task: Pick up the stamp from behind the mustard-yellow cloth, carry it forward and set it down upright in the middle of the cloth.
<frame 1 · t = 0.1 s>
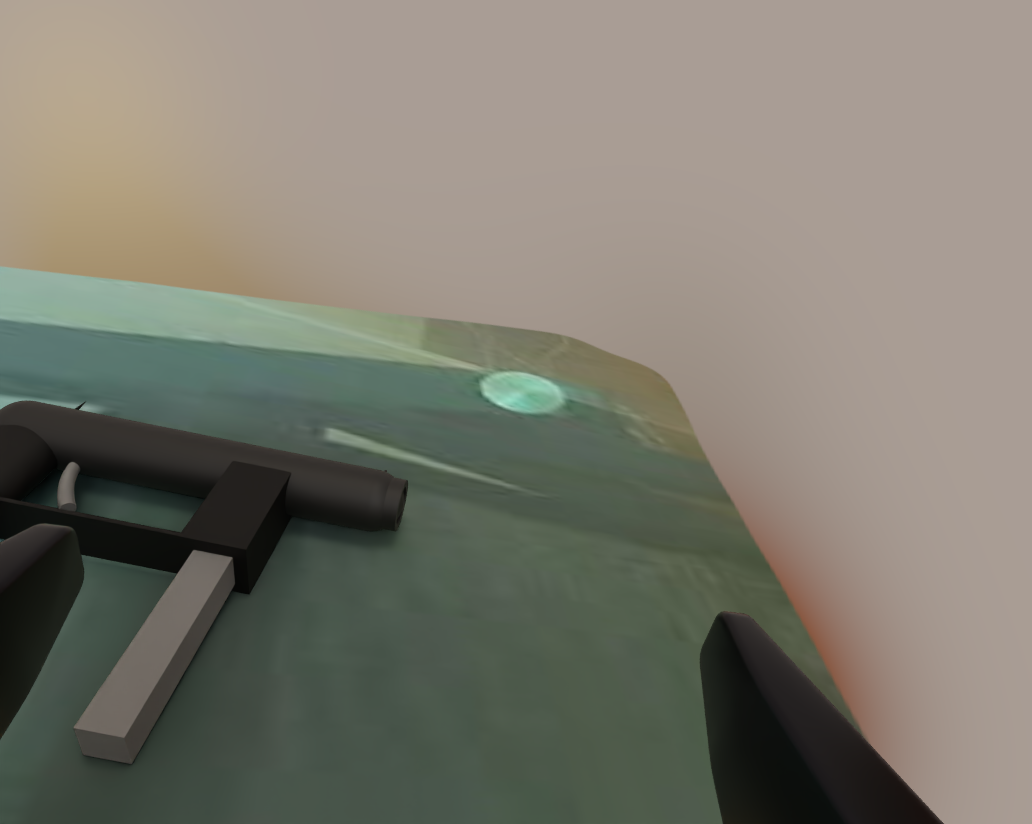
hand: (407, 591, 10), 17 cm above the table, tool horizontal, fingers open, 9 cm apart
submachine gun: (142, 574, 30), on the table
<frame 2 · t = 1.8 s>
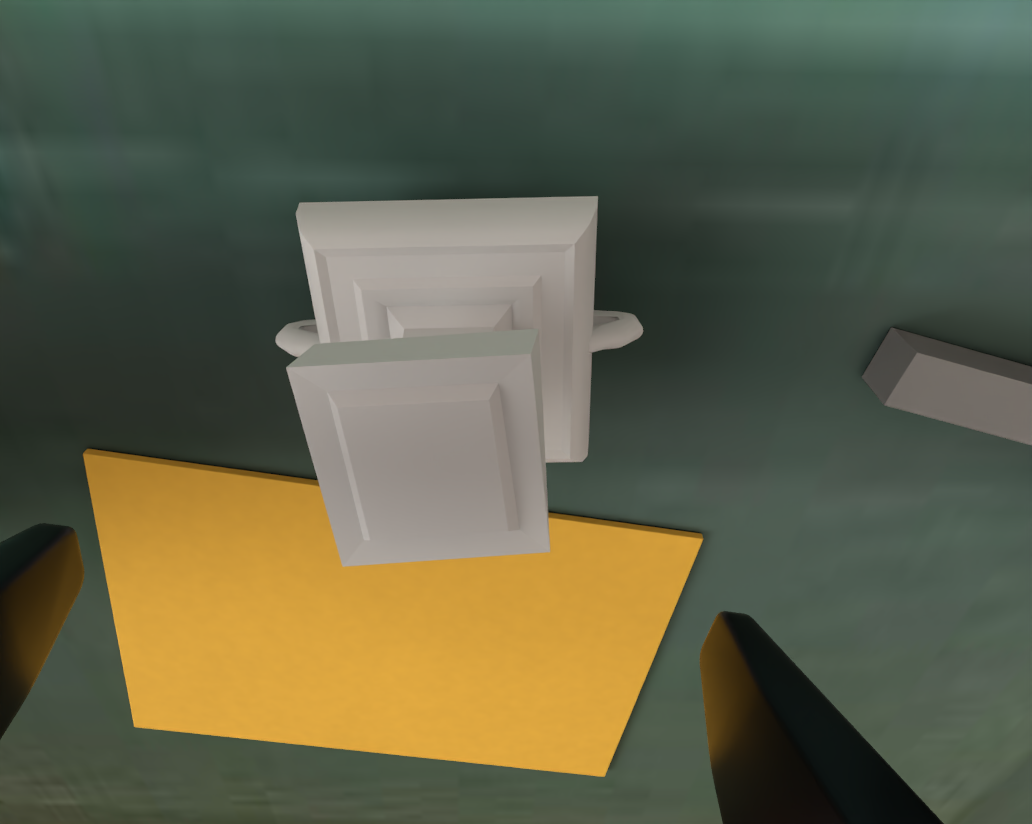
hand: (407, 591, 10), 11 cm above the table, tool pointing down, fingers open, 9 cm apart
cloth: (389, 636, 26), on the table
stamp: (465, 295, 19), on the table
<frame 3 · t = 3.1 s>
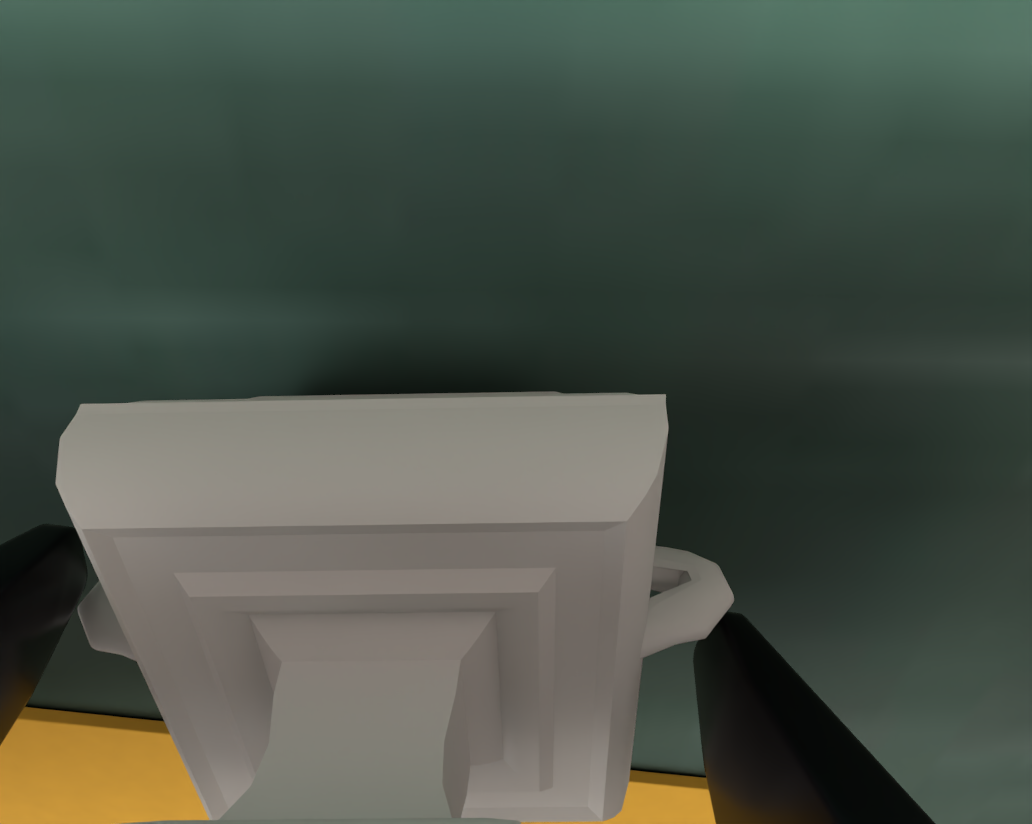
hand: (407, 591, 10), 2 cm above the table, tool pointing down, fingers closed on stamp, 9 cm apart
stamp: (425, 488, 12), on the table, touching gripper
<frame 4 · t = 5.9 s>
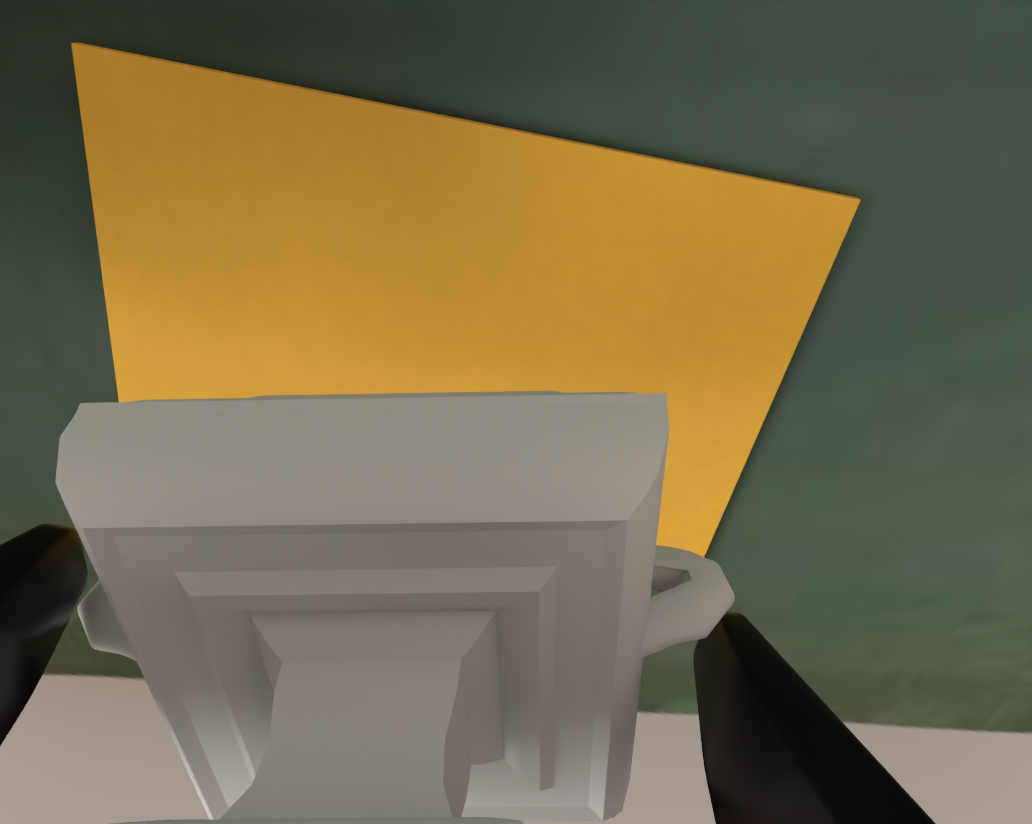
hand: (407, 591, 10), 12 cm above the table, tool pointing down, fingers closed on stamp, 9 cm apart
cloth: (450, 364, 21), on the table
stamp: (425, 487, 12), point 9 cm above the table, touching gripper
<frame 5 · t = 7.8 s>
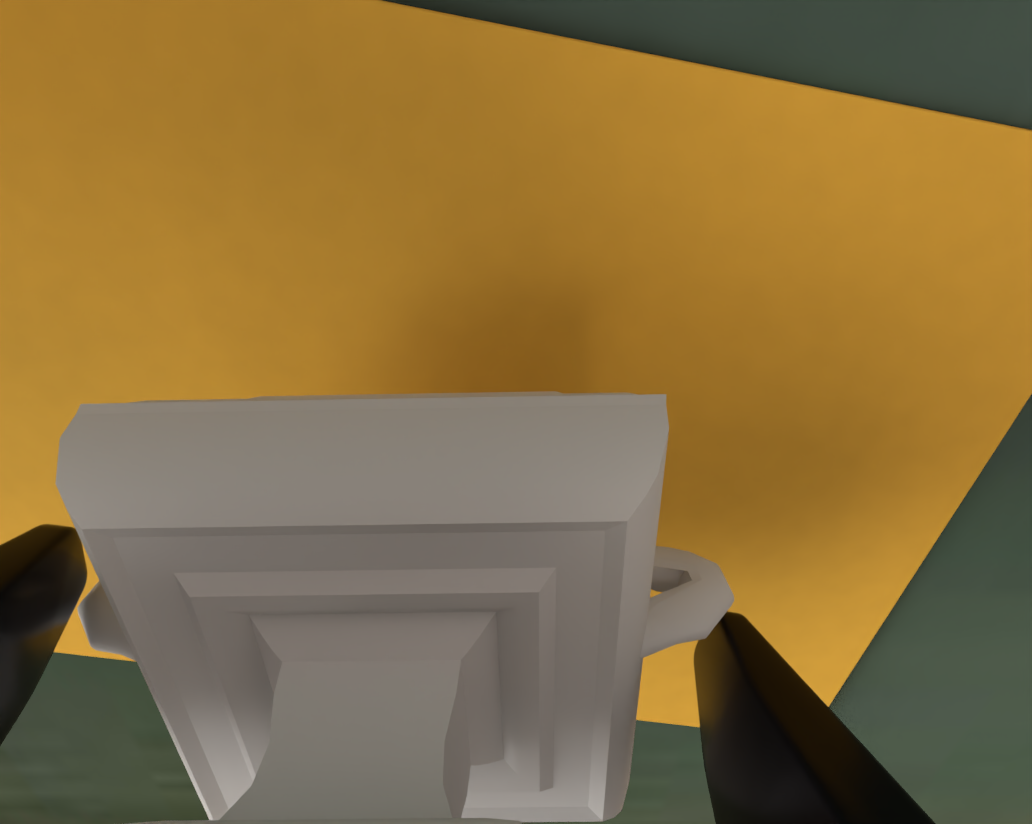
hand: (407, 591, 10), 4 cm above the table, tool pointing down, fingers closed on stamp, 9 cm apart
cloth: (441, 444, 13), on the table
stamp: (425, 488, 12), point 1 cm above the table, touching gripper
when the fingers open (2 cm above the table, at t = 8.9 s): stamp stays where it is, resting on cloth.
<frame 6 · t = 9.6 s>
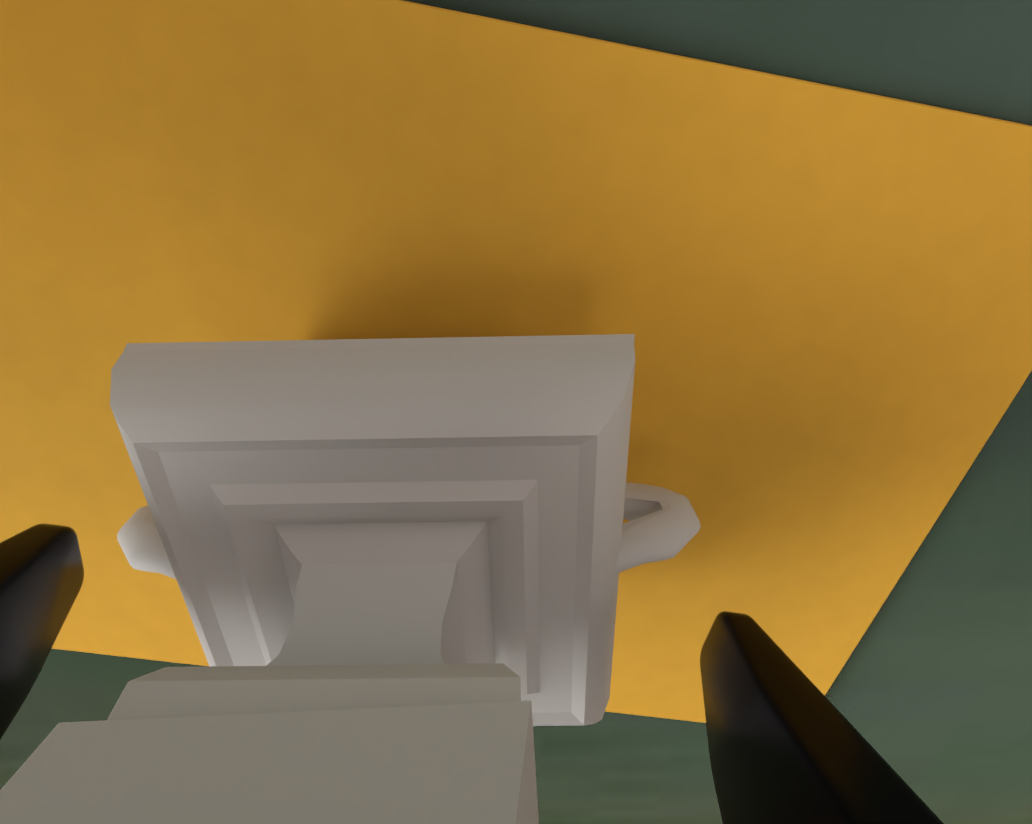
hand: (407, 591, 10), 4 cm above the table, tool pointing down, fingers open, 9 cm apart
cloth: (433, 439, 13), on the table
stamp: (426, 438, 13), resting on cloth
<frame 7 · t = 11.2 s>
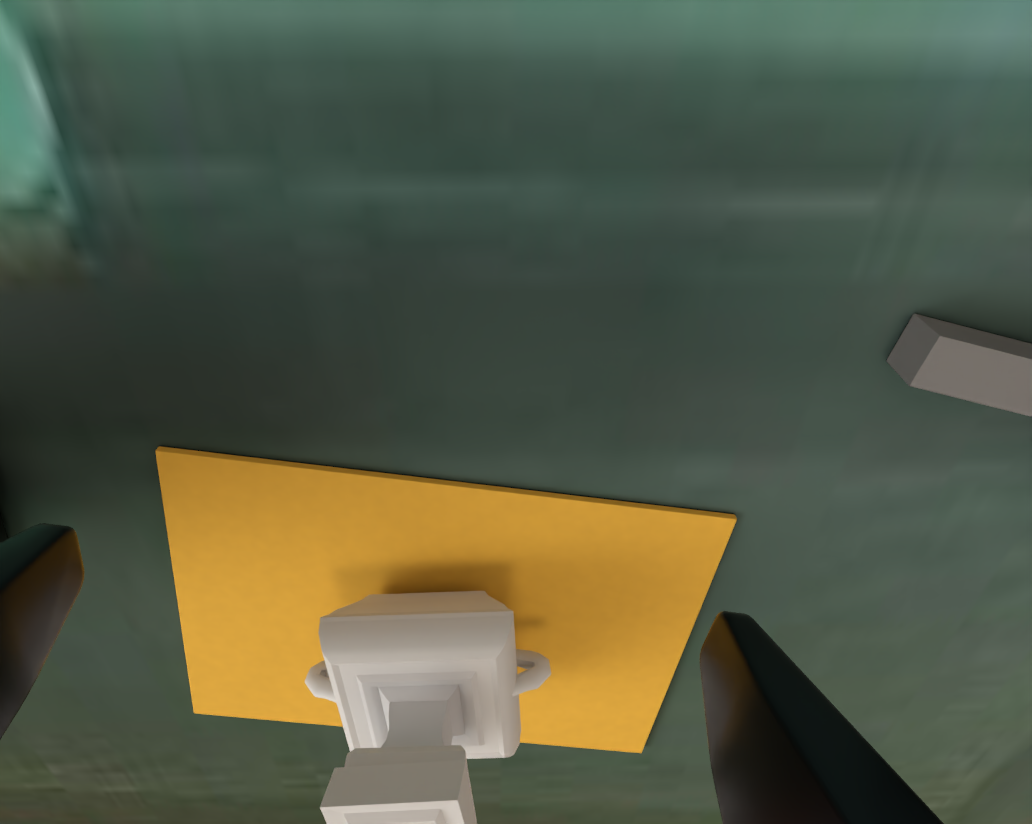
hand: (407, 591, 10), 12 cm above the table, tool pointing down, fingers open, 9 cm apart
cloth: (438, 620, 27), on the table
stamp: (434, 621, 27), resting on cloth
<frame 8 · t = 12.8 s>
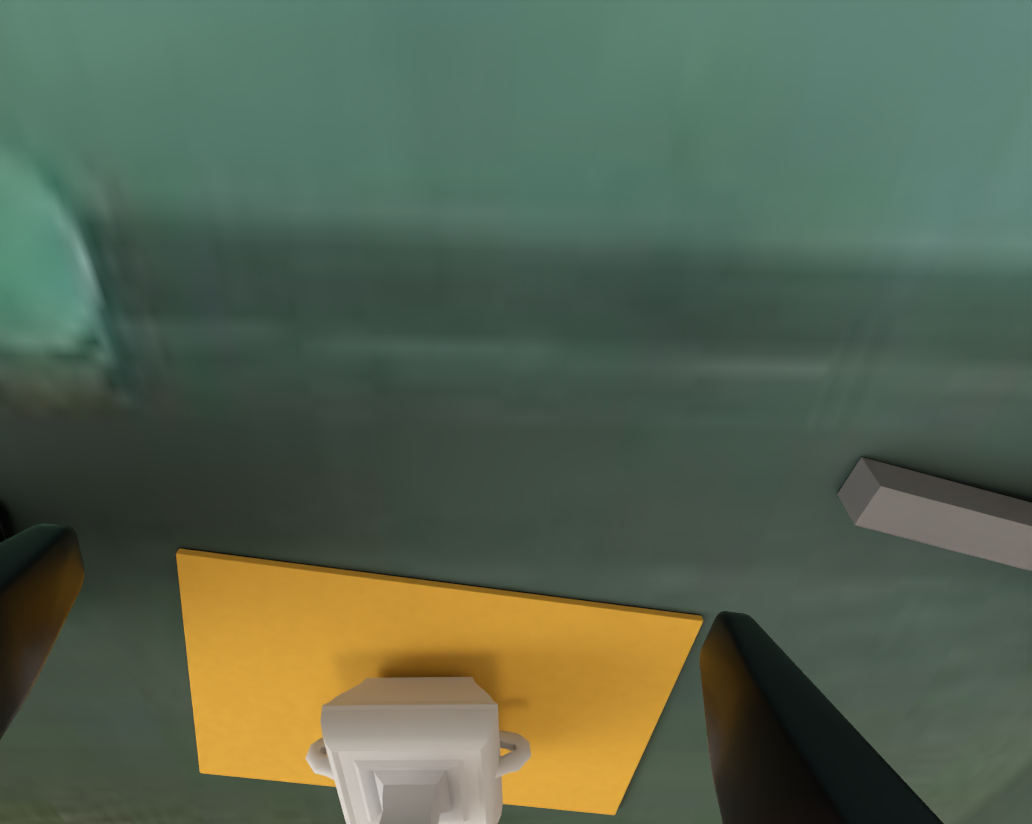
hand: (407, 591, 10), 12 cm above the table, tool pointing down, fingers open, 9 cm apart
cloth: (429, 698, 30), on the table
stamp: (425, 699, 30), resting on cloth
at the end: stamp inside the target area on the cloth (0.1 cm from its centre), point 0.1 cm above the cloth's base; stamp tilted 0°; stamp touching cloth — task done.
